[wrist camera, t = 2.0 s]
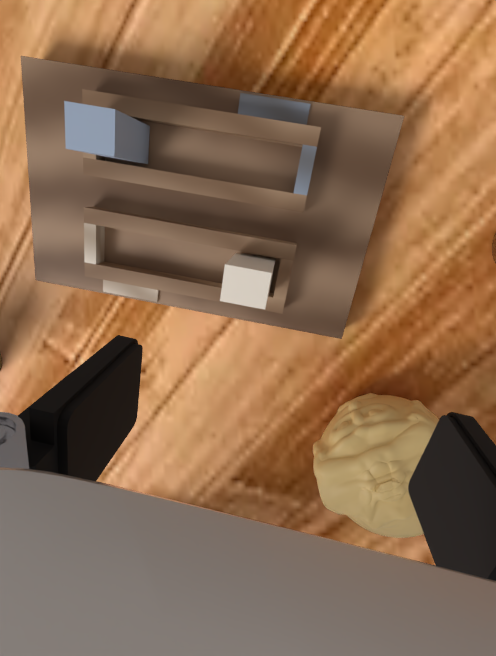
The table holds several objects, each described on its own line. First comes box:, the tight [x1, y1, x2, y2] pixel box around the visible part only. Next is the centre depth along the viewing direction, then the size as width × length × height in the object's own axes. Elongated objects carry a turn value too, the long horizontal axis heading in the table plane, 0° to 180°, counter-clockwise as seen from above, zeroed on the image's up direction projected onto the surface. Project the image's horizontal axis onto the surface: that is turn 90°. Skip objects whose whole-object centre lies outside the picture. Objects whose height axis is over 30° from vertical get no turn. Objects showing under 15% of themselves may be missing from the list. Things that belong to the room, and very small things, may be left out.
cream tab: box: [220, 252, 276, 310], centre depth 26 cm, size 3×3×6 cm
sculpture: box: [313, 393, 439, 538], centre depth 31 cm, size 12×12×11 cm
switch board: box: [21, 56, 404, 339], centre depth 28 cm, size 17×28×3 cm, turn 81°
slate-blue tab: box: [64, 101, 150, 164], centre depth 24 cm, size 3×3×6 cm
